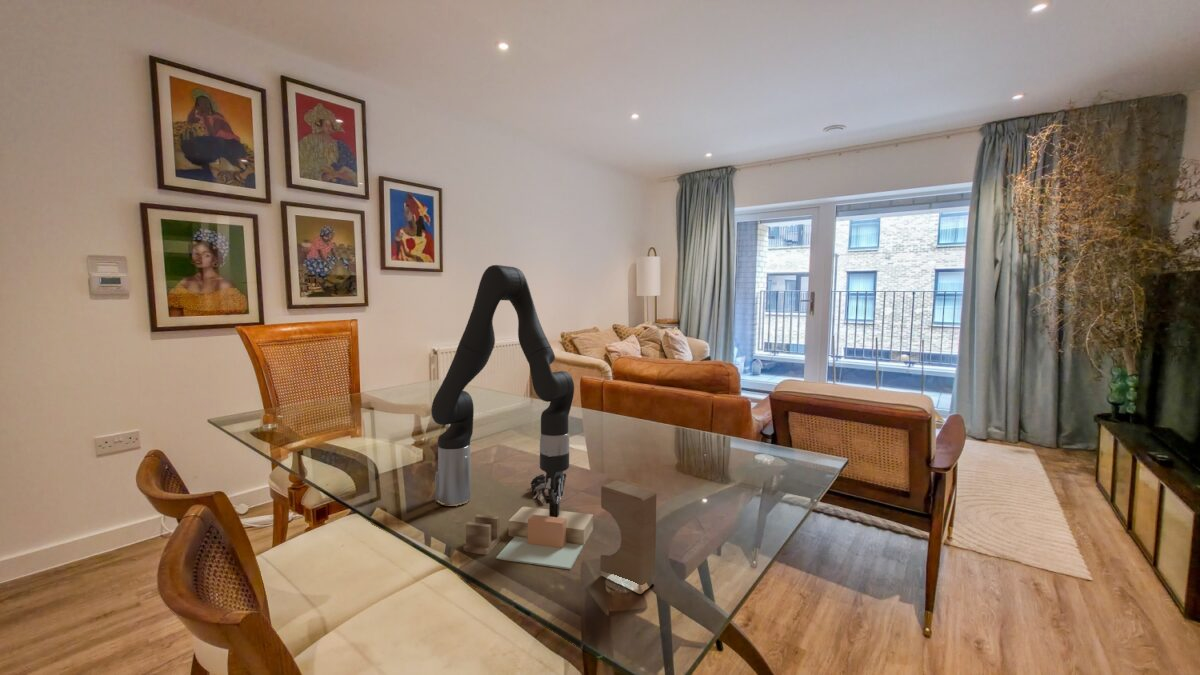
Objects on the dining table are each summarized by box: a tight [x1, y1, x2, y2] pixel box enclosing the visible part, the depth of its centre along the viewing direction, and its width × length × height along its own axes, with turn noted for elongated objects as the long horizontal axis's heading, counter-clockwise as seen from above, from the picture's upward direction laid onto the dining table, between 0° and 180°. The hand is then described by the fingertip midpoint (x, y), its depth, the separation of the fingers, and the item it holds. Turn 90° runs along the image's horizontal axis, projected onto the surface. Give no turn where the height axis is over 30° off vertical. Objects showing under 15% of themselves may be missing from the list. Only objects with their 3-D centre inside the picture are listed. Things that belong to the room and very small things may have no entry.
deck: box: [508, 506, 594, 547], centre depth 120 cm, size 20×9×4 cm, turn 76°
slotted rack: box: [463, 513, 503, 556], centre depth 113 cm, size 6×8×6 cm
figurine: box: [530, 473, 546, 504], centre depth 145 cm, size 7×6×15 cm
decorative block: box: [599, 479, 657, 585], centre depth 99 cm, size 11×6×20 cm, turn 49°
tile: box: [528, 514, 567, 548], centre depth 114 cm, size 9×6×3 cm
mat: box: [495, 536, 584, 570], centre depth 110 cm, size 18×10×1 cm, turn 76°
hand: (554, 516), depth 119 cm, fingers closed
